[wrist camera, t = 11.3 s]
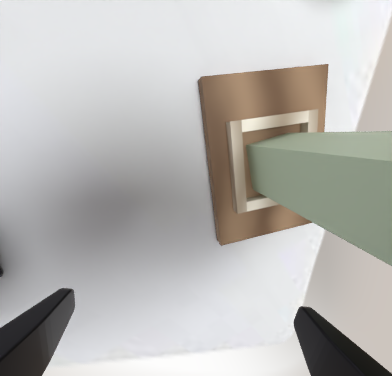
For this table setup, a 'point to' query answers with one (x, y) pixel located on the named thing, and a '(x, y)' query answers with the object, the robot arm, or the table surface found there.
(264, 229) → the base board
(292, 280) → the table surface
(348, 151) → the pillar
